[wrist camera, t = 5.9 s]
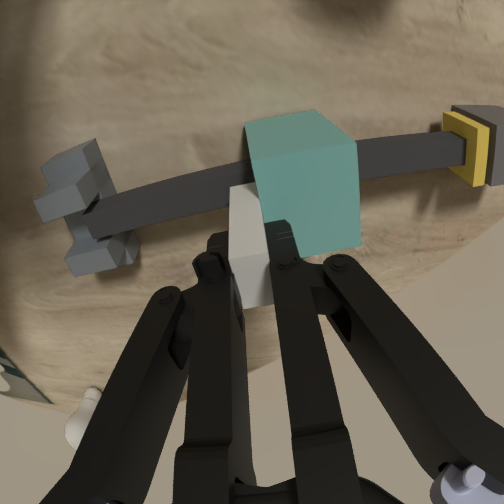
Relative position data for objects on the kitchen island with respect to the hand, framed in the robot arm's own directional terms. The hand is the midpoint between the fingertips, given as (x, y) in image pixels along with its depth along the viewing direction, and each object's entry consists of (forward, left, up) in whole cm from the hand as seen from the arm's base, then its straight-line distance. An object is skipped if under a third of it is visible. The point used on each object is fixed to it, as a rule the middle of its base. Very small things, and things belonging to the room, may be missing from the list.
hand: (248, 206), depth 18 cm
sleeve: (+3, 0, -6) cm, 7 cm away
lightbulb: (-29, -27, -6) cm, 40 cm away
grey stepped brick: (-12, 0, -6) cm, 14 cm away
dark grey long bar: (+6, 0, -5) cm, 8 cm away
